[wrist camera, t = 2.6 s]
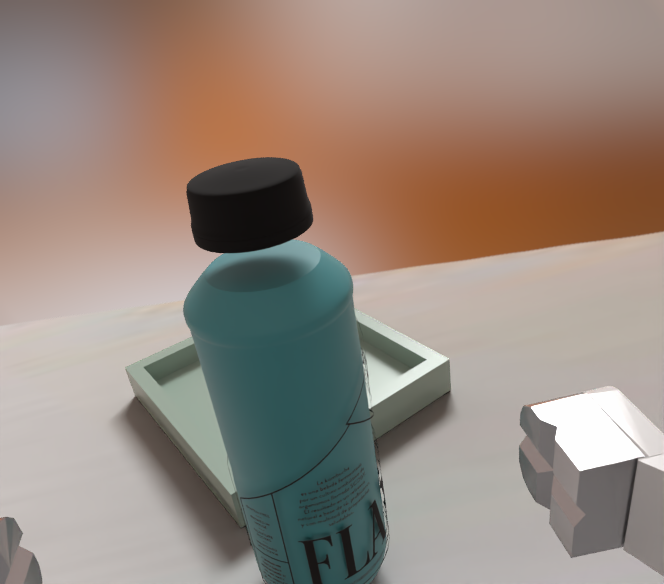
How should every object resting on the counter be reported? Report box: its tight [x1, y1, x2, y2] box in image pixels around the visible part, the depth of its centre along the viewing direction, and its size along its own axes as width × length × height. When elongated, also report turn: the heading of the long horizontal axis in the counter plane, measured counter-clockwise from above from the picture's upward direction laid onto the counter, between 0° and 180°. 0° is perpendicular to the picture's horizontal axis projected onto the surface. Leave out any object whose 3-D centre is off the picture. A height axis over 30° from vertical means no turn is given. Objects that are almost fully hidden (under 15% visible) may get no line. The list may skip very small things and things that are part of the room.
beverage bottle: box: [183, 157, 389, 584], centre depth 24 cm, size 6×7×20 cm
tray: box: [125, 308, 451, 528], centre depth 41 cm, size 16×16×2 cm
